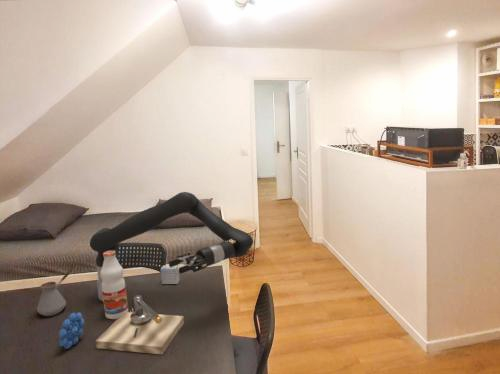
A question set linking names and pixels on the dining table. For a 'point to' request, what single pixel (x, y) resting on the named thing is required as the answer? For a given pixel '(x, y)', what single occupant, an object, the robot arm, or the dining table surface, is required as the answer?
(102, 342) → the stand
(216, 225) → the robot arm
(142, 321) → the metal faucet
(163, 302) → the dining table surface
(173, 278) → the medicine box
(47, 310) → the coffee pot
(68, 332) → the grapes
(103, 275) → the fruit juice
